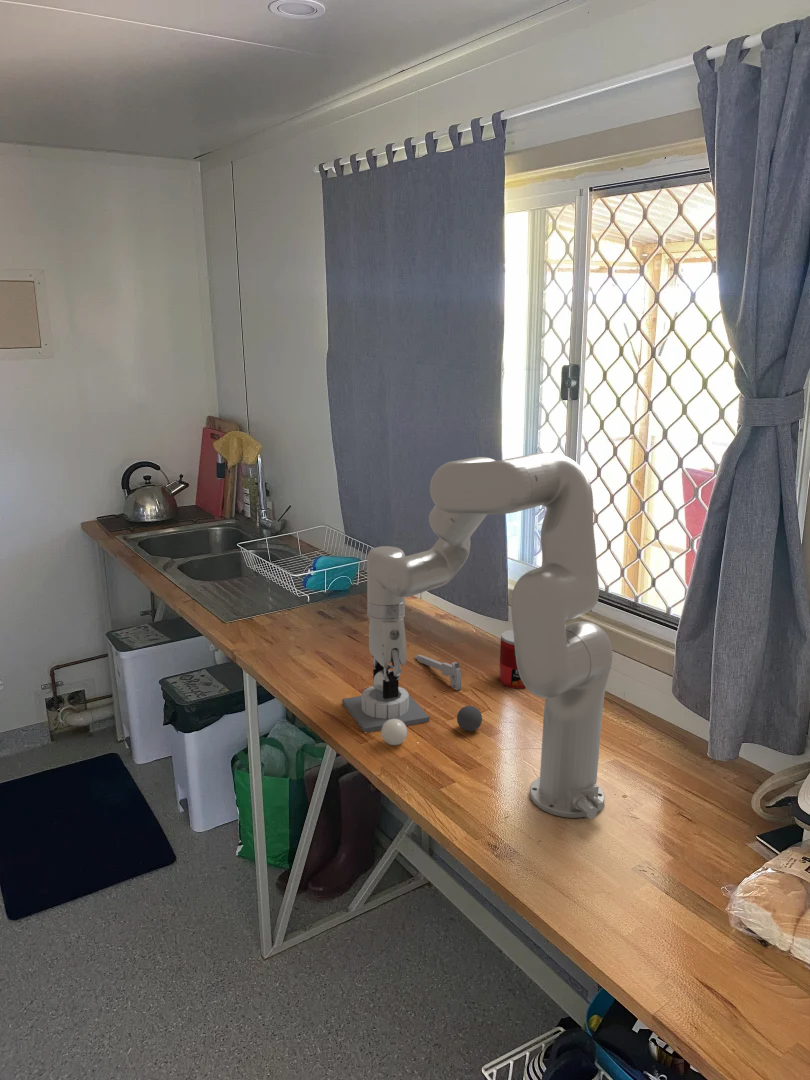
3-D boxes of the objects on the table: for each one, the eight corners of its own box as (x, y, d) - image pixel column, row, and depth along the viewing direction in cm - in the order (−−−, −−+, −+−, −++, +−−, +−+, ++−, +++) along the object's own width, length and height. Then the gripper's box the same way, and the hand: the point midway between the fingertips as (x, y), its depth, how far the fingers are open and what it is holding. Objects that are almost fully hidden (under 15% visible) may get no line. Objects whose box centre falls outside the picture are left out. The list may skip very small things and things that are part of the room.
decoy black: (486, 733, 169) (487, 710, 167) (463, 737, 167) (463, 714, 165) (474, 722, 173) (475, 699, 172) (452, 726, 171) (453, 703, 170)
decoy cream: (411, 747, 163) (411, 723, 161) (386, 752, 161) (386, 728, 160) (401, 735, 167) (401, 712, 166) (377, 739, 165) (377, 716, 164)
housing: (429, 721, 173) (429, 703, 172) (364, 733, 168) (364, 714, 167) (403, 693, 186) (404, 676, 185) (342, 703, 181) (342, 685, 179)
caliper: (461, 691, 188) (462, 665, 186) (457, 692, 187) (457, 665, 185) (418, 658, 205) (418, 633, 203) (413, 658, 205) (414, 634, 203)
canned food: (514, 691, 187) (516, 645, 184) (491, 678, 194) (493, 633, 191) (540, 684, 191) (543, 638, 188) (518, 671, 198) (520, 627, 195)
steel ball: (401, 696, 174) (401, 673, 173) (378, 699, 172) (378, 676, 171) (392, 686, 179) (392, 664, 177) (370, 689, 177) (370, 667, 176)
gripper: (419, 620, 164) (418, 706, 169) (388, 593, 180) (388, 673, 184) (383, 624, 162) (382, 712, 167) (354, 597, 177) (355, 678, 182)
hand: (385, 691), depth 175 cm, fingers closed on steel ball, 4 cm apart
